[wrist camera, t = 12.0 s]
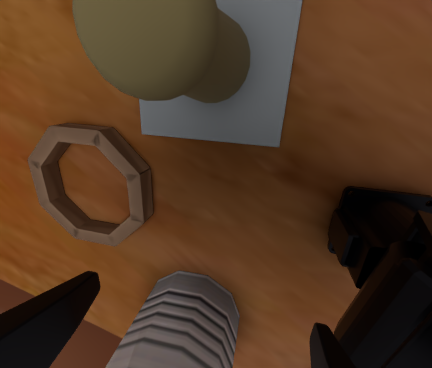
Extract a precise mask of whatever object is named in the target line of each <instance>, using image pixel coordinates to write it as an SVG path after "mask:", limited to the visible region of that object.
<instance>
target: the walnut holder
mask: <svg viewBox="0 0 432 368" xmlns="http://www.w3.org/2000/svg"><path fill="white" fill-rule="evenodd" d="M71 143H76V144H85V145H94V146H96V147H97V148H98V149H99V150H100V151H101V152H102V153H103V154H104V155H105V156H106V157H107V159H108V160H109V161H110V162H111V163H112V164H113V165H114V166H115V167H116V168H117V169H118V170H119V171H120V172H121V173H122V174H123V175H124V176H125V178H126V179H127V188H128V197H129V206H130V217H129V218H128V219H126V220H125V221H124V222H123V223H122V224H121V225H118V224H113V223H107V222H101V221H96V220H90V219H89V218H88V217H87V216H86V215H85V214H84V213H83V212H82V211H81V210H80V209H79V208H78V207H77V206H76V205H75V204H74V203H73V202H72V201H71V200H70V199H69V198H68V197H67V196H66V195H65V193H64V188H63V184H62V179H61V175H60V170H59V166H58V162H57V161H58V160H59V159H60V157H61V156H62V154H63V153H64V152H65V150H66V149H67V148H68V146H69V145H70V144H71ZM28 163H29V167H30V171H31V174H32V178H33V182H34V185H35V189H36V192H37V196H38V200H39V203H40V204H41V206H42V207H43V208H44V209H45V210H46V211H47V212H48V213H49V214H50V215H51V216H52V217H53V218H54V219H55V220H56V221H57V222H58V223H59V224H60V225H61V226H62V227H63V228H65V229H66V230H67V231H68V232H69V233H70V234H71V235H72V236H73V237H74V238H76V239H81V240H86V241H90V242H95V243H100V244H105V245H110V246H117V245H118V244H119V243H120V242H122V241H123V240H124V239H125V238H126V237H128V236H129V235H130V234H131V233H133V232H134V231H135V230H136V229H137V228H139V227H140V226H141V225H142V224H143V223H144V222H145V221H146V220H147V219H148V218H149V217H150V216H151V215H152V214H153V200H152V184H151V169H149V168H150V167H149V166H148V165H147V164H146V163H145V162H144V160H143V159H142V158H141V157H140V156H139V155H138V154H137V153H136V152H135V151H134V150H133V148H132V147H131V146H130V145H129V144H128V143H127V142H126V141H125V140H124V139H123V138H122V136H121V135H120V134H119V133H118V132H117V131H116V130H115V129H114V128H113V127H103V126H93V125H82V124H71V123H66V124H59V125H52V126H49V127H48V129H47V130H46V132H45V133H44V135H43V136H42V138H41V139H40V141H39V143H38V144H37V146H36V147H35V149H34V150H33V152H32V153H31V155H30V156H29V158H28Z"/></svg>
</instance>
